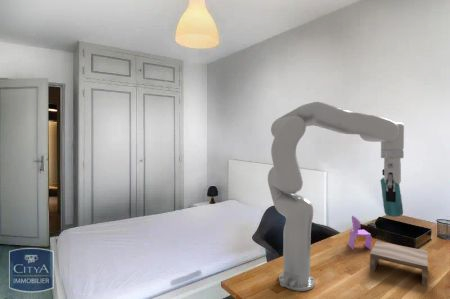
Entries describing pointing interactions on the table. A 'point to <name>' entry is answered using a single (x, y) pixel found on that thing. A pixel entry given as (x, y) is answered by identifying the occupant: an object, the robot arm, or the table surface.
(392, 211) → the beverage bottle
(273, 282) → the table surface
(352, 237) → the toy chair
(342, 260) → the table surface
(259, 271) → the table surface
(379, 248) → the walnut shelf
